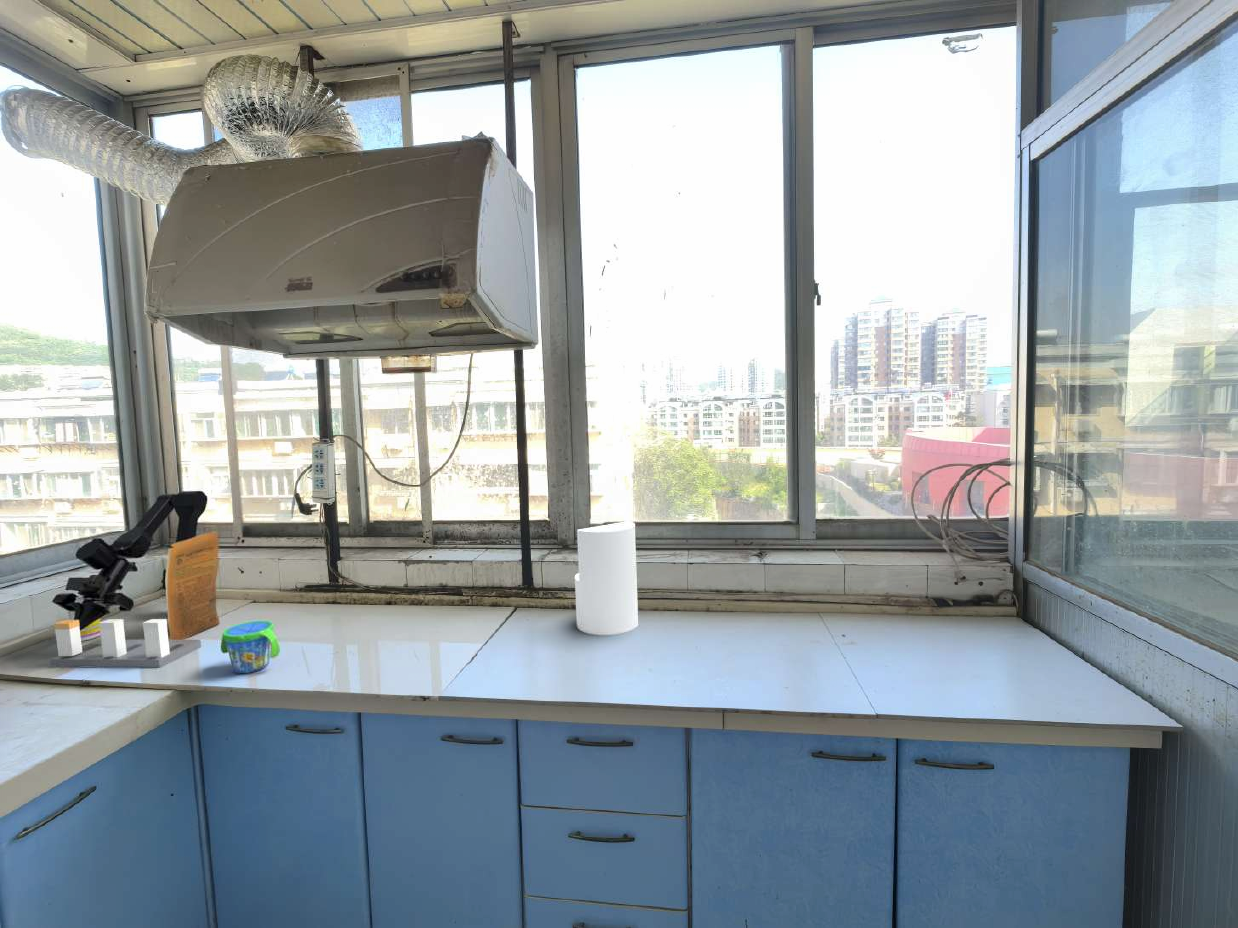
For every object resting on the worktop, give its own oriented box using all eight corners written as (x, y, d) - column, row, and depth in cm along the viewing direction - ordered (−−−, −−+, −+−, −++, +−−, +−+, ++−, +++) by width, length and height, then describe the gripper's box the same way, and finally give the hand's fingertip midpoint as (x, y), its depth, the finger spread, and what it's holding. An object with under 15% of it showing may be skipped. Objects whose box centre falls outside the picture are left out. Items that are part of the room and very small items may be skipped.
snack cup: (294, 663, 148) (290, 623, 147) (254, 681, 138) (250, 639, 137) (249, 655, 154) (246, 617, 153) (208, 672, 144) (204, 632, 143)
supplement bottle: (108, 633, 174) (103, 590, 173) (86, 642, 168) (80, 597, 166) (87, 633, 175) (82, 590, 174) (64, 642, 168) (59, 597, 167)
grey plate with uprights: (100, 646, 164) (95, 607, 163) (201, 646, 161) (197, 607, 160) (50, 666, 151) (45, 624, 150) (159, 667, 148) (155, 624, 147)
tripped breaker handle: (68, 651, 154) (64, 619, 153) (82, 651, 154) (78, 619, 153) (58, 655, 151) (54, 623, 151) (72, 656, 151) (68, 623, 150)
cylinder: (650, 624, 165) (647, 525, 163) (598, 640, 156) (594, 534, 153) (615, 609, 180) (612, 517, 177) (565, 622, 170) (561, 525, 167)
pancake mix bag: (235, 620, 182) (226, 529, 180) (179, 644, 163) (168, 543, 161) (216, 619, 183) (207, 529, 181) (158, 643, 165) (147, 543, 162)
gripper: (55, 563, 158) (14, 618, 148) (119, 562, 156) (82, 618, 147) (87, 584, 167) (51, 637, 157) (148, 583, 165) (116, 637, 155)
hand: (74, 632), depth 154 cm, fingers closed, pressing on tripped breaker handle
